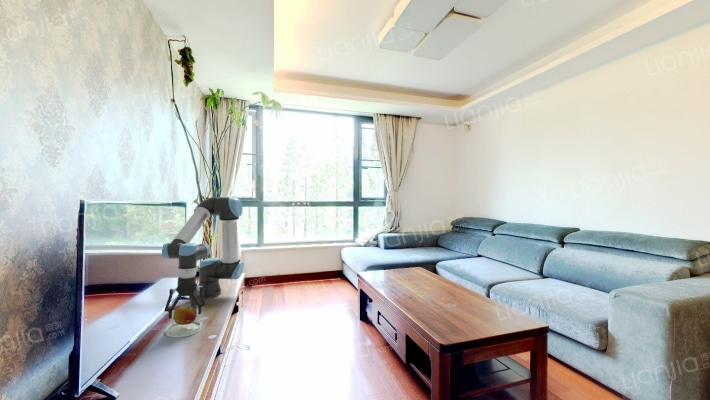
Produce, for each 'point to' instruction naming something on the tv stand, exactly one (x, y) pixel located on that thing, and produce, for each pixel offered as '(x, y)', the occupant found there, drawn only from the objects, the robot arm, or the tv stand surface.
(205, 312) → the tv stand surface
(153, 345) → the tv stand surface
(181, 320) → the fruit
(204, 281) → the robot arm
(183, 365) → the tv stand surface
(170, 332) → the dish
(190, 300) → the alarm clock
